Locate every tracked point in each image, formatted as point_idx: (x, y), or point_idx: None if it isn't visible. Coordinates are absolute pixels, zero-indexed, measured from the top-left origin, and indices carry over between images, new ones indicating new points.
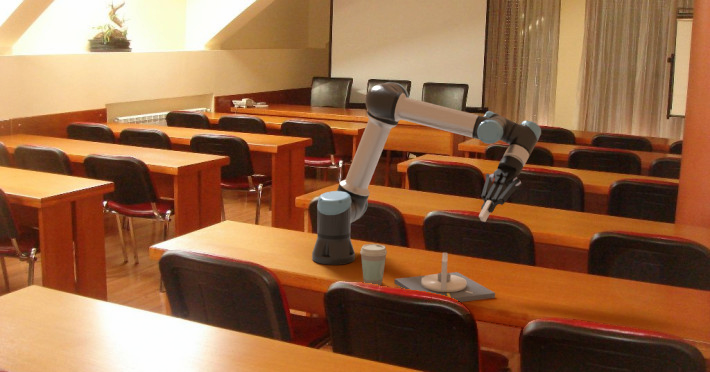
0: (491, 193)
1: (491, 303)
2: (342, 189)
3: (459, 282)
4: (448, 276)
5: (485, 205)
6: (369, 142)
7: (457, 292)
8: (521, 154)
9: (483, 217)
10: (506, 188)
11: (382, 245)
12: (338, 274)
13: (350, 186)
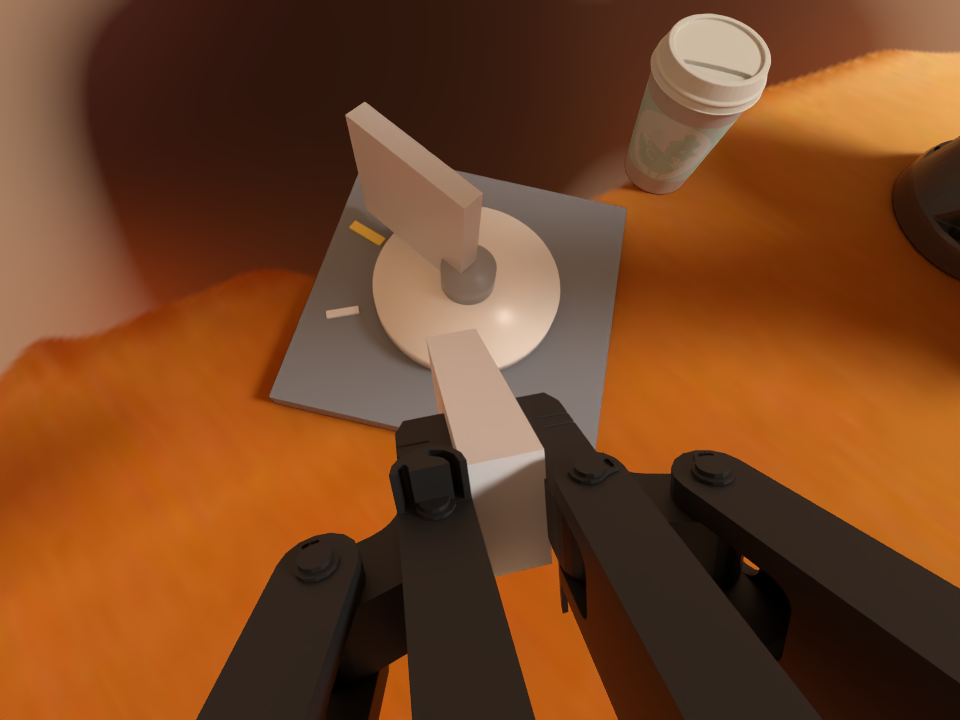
0: (611, 588)
1: (240, 343)
2: None
3: (410, 312)
4: (440, 267)
5: (494, 399)
6: None
7: (372, 280)
8: None
9: (430, 362)
10: None
11: (730, 83)
12: (785, 143)
13: None
